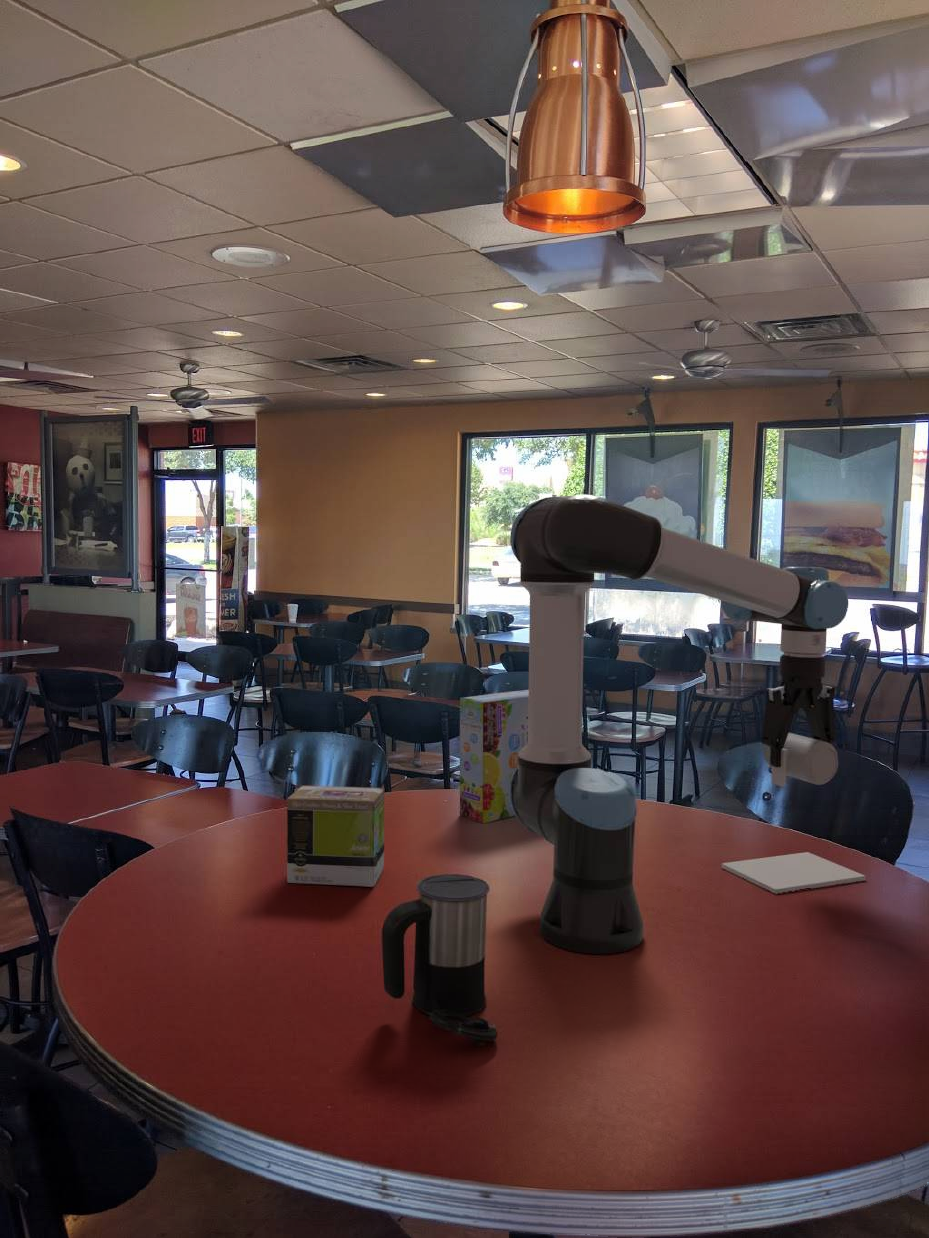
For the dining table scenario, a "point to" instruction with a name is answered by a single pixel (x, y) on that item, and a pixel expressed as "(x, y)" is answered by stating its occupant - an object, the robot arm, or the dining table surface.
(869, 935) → the dining table surface
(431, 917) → the milk frother
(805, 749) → the can
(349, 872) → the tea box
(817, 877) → the placemat
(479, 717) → the snack box
